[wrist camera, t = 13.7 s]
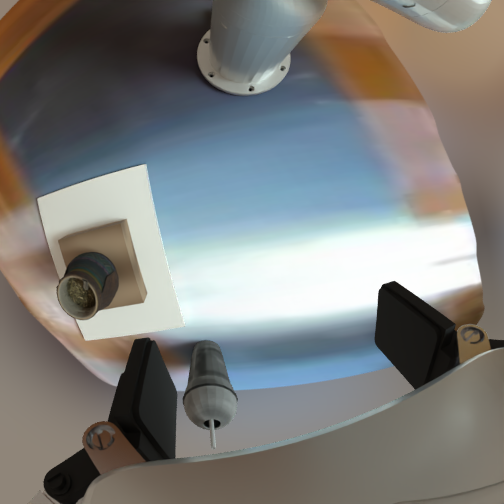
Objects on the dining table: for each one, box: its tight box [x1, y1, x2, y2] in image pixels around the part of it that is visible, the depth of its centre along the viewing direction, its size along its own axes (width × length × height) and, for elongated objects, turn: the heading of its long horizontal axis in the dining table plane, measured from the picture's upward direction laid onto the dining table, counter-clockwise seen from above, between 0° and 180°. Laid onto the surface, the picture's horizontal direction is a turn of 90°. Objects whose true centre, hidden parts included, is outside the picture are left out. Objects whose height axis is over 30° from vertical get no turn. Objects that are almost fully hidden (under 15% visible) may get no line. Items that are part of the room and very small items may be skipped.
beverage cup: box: [183, 340, 238, 449], centre depth 34 cm, size 7×7×20 cm
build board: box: [37, 164, 185, 341], centre depth 36 cm, size 24×18×1 cm
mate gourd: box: [56, 252, 119, 320], centre depth 28 cm, size 7×8×10 cm
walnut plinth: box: [58, 219, 147, 310], centre depth 34 cm, size 11×10×3 cm
